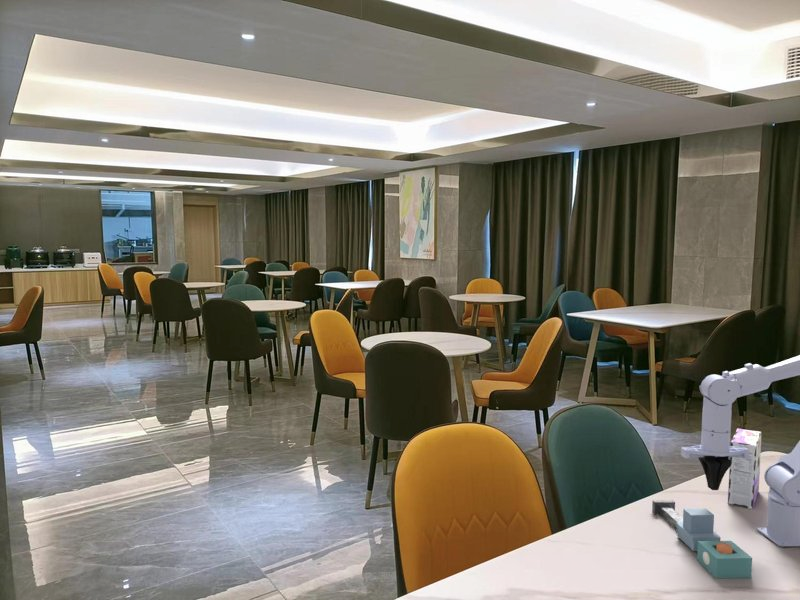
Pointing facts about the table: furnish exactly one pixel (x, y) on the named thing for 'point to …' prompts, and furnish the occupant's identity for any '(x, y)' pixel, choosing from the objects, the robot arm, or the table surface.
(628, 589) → the table surface
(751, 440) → the candy box
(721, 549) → the plunger
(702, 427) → the robot arm
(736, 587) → the table surface
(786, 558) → the table surface
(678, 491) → the table surface
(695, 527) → the carriage
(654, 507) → the rail
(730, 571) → the teal button housing
